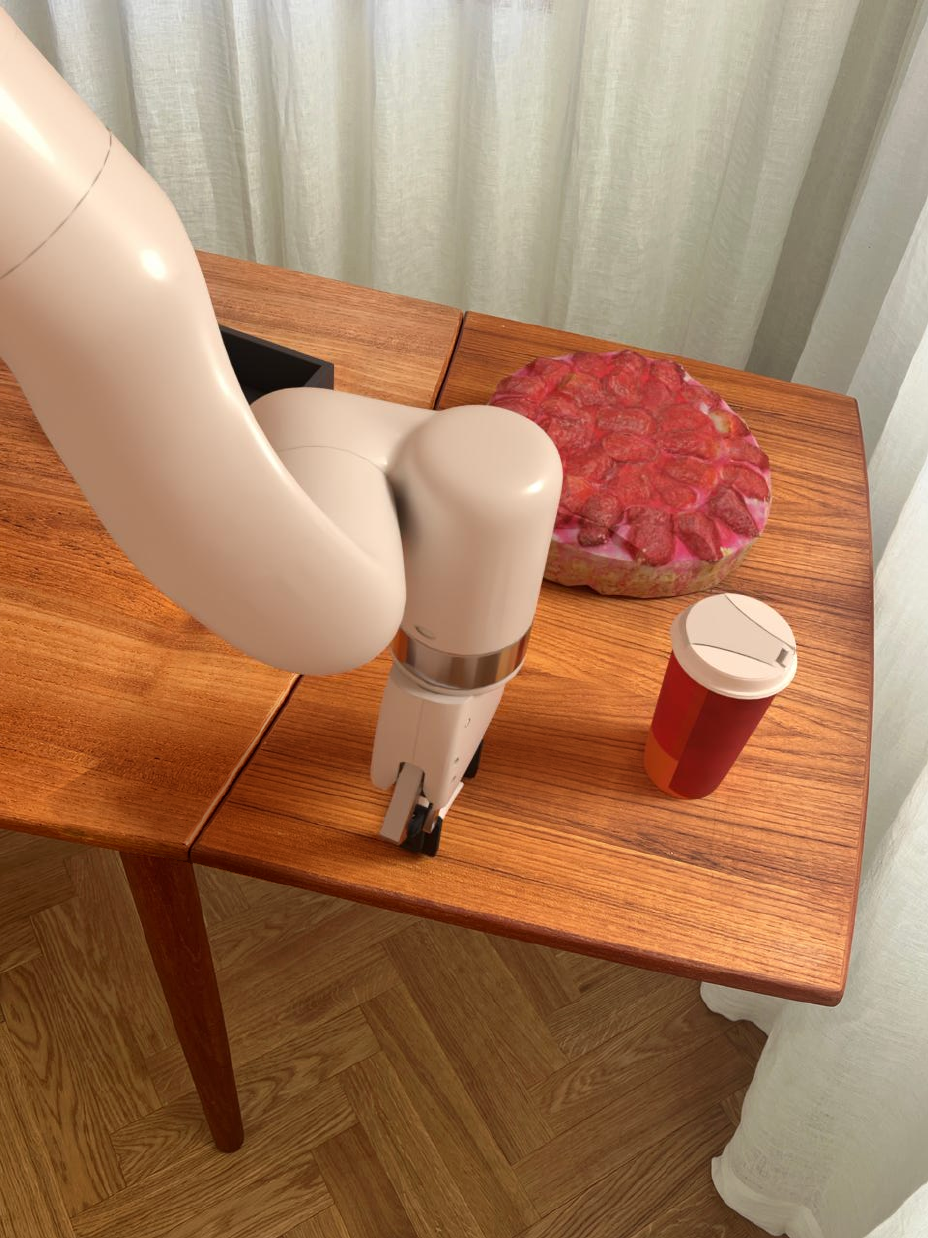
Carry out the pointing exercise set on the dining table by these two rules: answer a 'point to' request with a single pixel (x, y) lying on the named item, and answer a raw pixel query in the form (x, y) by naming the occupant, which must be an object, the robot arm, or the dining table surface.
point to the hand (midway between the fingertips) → (434, 804)
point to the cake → (642, 473)
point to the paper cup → (716, 690)
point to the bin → (272, 365)
